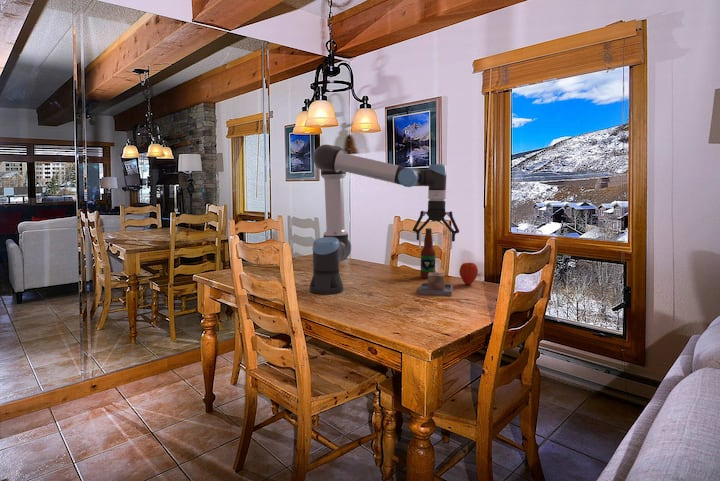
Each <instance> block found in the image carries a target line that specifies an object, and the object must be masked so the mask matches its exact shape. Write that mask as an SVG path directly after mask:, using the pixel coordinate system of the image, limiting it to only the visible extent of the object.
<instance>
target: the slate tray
mask: <svg viewBox="0 0 720 481" xmlns="http://www.w3.org/2000/svg"><path fill="white" fill-rule="evenodd" d="M452 293H453V284H451V283H450V284H449V283H444V291H436V290H428V282H421V284H420V286H419V288H418V295H430V296H431V295H432V296H449V297H450V296H451V297H452V295H453V294H452Z"/></svg>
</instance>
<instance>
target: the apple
mask: <svg viewBox="0 0 720 481" xmlns="http://www.w3.org/2000/svg"><path fill="white" fill-rule="evenodd" d="M478 275H479V270H478V266H477V264H475V263H474V262H464V263H462V264H461V265H460V267H459V276H460V279H462V281H463V283H464V284H465V285H472V284H473V283H474V282H475V280H476V279H477V277H478Z"/></svg>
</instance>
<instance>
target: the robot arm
mask: <svg viewBox="0 0 720 481" xmlns="http://www.w3.org/2000/svg"><path fill="white" fill-rule="evenodd" d="M312 157H313V158H312V159H313V163H314V166H316V168H318V169H319V170H320V176H321V177H322V179H324V197H325V199H324V201H325V202H324V203H325V204H324V206H325V227H326V230H325V232H324V233H323V237H319V238H316V239H314V240H313V242H312V248H311V249H312V270H313V272H312V276H311V280H310V283H309V292H310V293H312V294H318V295H334V294H338V293H339V294H340V293H342V292H344V284H343V281H342V277H341V274H340V263H342V262H344V261H345V260H346V259H347V258H348V257H349V256H350V254H351V251H352V244H351V241H350V239H349V232H347V230H346V229H345V228H346V227H345V226H346V225H345V203H344V202H345V201H344V199H345V198H344V178H345V177H346V176H347V173H348V174H349V173H350V174H353V175H358V176H360V177H361V176H363V177H367V178H371V179H375V180H378V181H379V180H380V181H384V182H387V183H390V184H391V183H392V184H396V185H399V186H403V187H407V188H411V187H427V188H428V190H427V191H428V192H427V193H428V194H427V195H428V196H427V199H428V201H427V211H424V210H421V211H420V212H419V214H420V215H419V217H418V219H417V221H416V222H415V224H414V226H413V228H412V232H414V233H415V234H416V241H418V248H419V249H421V248H422V232H421V231H422V230H423V229H424V228H425V226H427V224H428V223H429V222H430V221H431V222H442V223H443V224H444V225H445V227H446V228H447V229H448V231H449V232H450V235H449V236H450V238H449V239H450V240H449V250H452V249H453V242H455V240H456V234H459V233H460V229H459V227H458V225H457V223H456V220H455V219H454V216H453V211H446V201H445V200H446V198H447V197H446V196H447V195H446V194H447V166H446V165H445V164H443V163H442V164H440V163H439V164H438V163H435V164H434V163H433V164H429V166H428V168H413V167H411V168H410V167H407V166H402V165H399V164H398V165H397V164H394V163H389V162H384V161H380V160H376V159H371V158H367V157H363V156H358V155H353V154H349V153H347V152H346V150H344V149H343V148H342V147H340V146H338V145H331V144H322V145H319V146H318V147H317V148H316V149H315V150H314V152H313V155H312ZM425 216H427V217H428V218H427V219H426V220H425V221H424V222H423V223H422V224H421V226H419V225H420V223H421V221H422V219H423V217H425ZM446 216H447V217H448V218H450V221H451V223H452V226H453V227H454V229H455V230H454V229H453V227H452V226H451V225H450V223H449V222H448V221H447V220H446V219H445V217H446ZM418 227H419V228H418ZM417 228H418V229H417Z"/></svg>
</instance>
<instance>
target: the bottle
mask: <svg viewBox="0 0 720 481" xmlns="http://www.w3.org/2000/svg"><path fill="white" fill-rule="evenodd" d="M432 230H433V228H431V227H427V228H425V232H424V234H425V235H424V241H423V248H422V250H421V251H420V277H421V278H422V279H427V280H428V274H429V272H432V273H436V250H435V249H434V247H433V245H434V244H433V243H434V242H433V235H432V233H433V231H432Z"/></svg>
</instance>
